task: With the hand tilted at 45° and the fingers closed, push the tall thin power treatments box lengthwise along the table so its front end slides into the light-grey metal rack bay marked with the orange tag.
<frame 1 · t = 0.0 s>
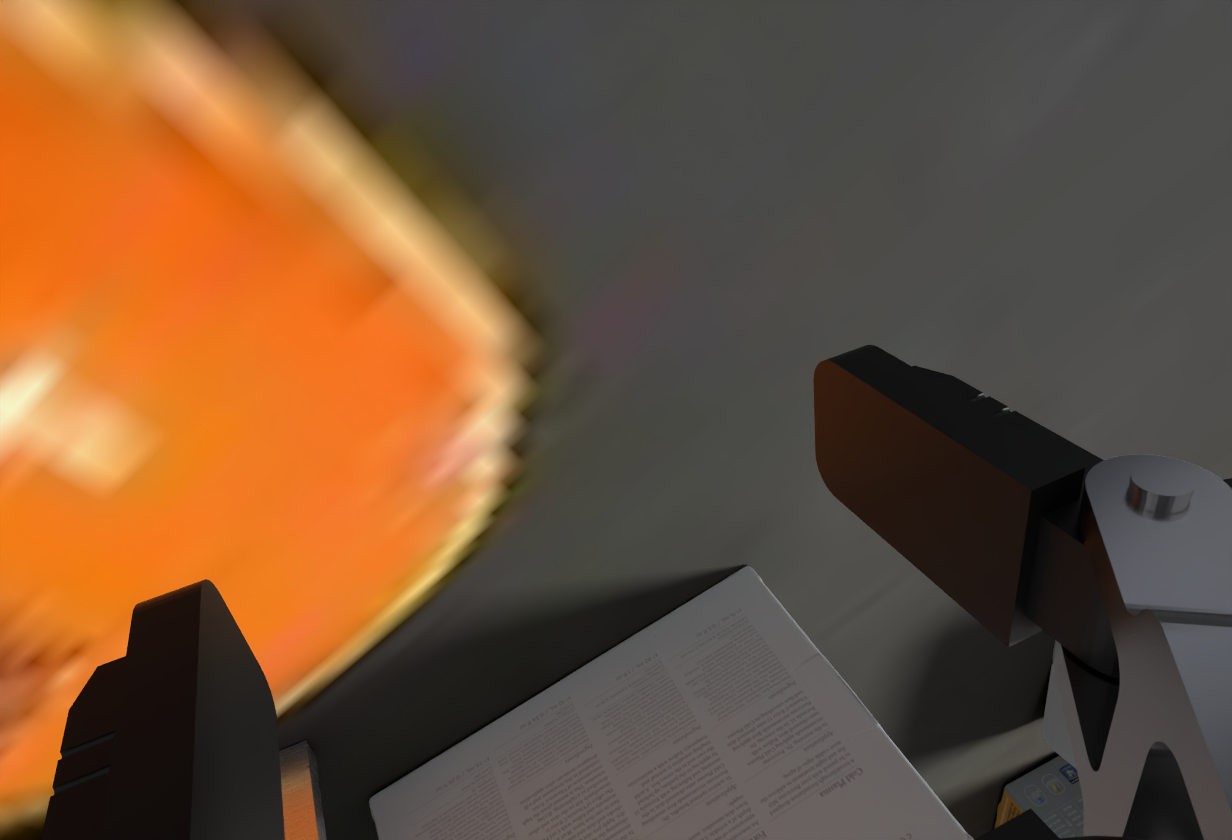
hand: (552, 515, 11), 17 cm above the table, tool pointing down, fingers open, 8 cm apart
skincare box: (582, 699, 41), on the table
hard drive box: (1022, 808, 73), on the table
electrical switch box: (1129, 626, 63), on the table
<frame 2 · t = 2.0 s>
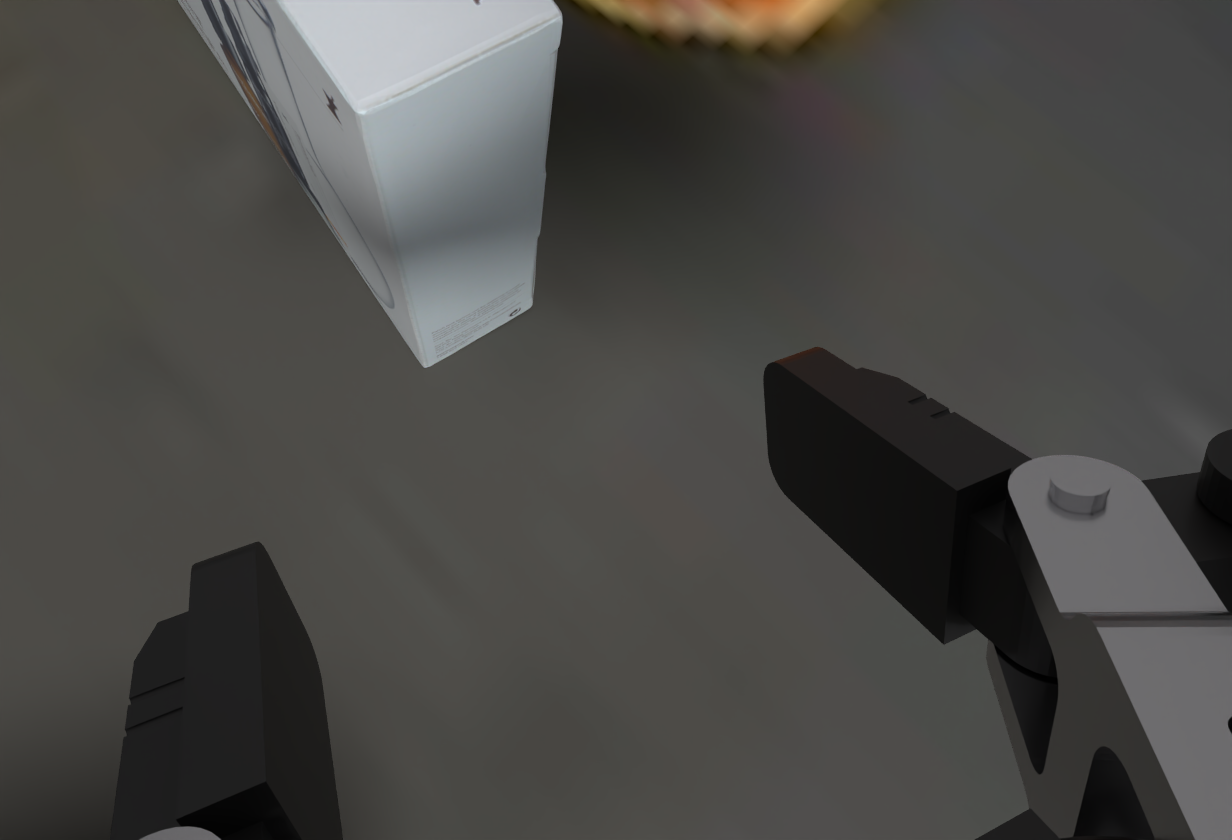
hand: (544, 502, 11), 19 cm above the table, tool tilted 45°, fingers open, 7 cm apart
skincare box: (331, 135, 33), on the table
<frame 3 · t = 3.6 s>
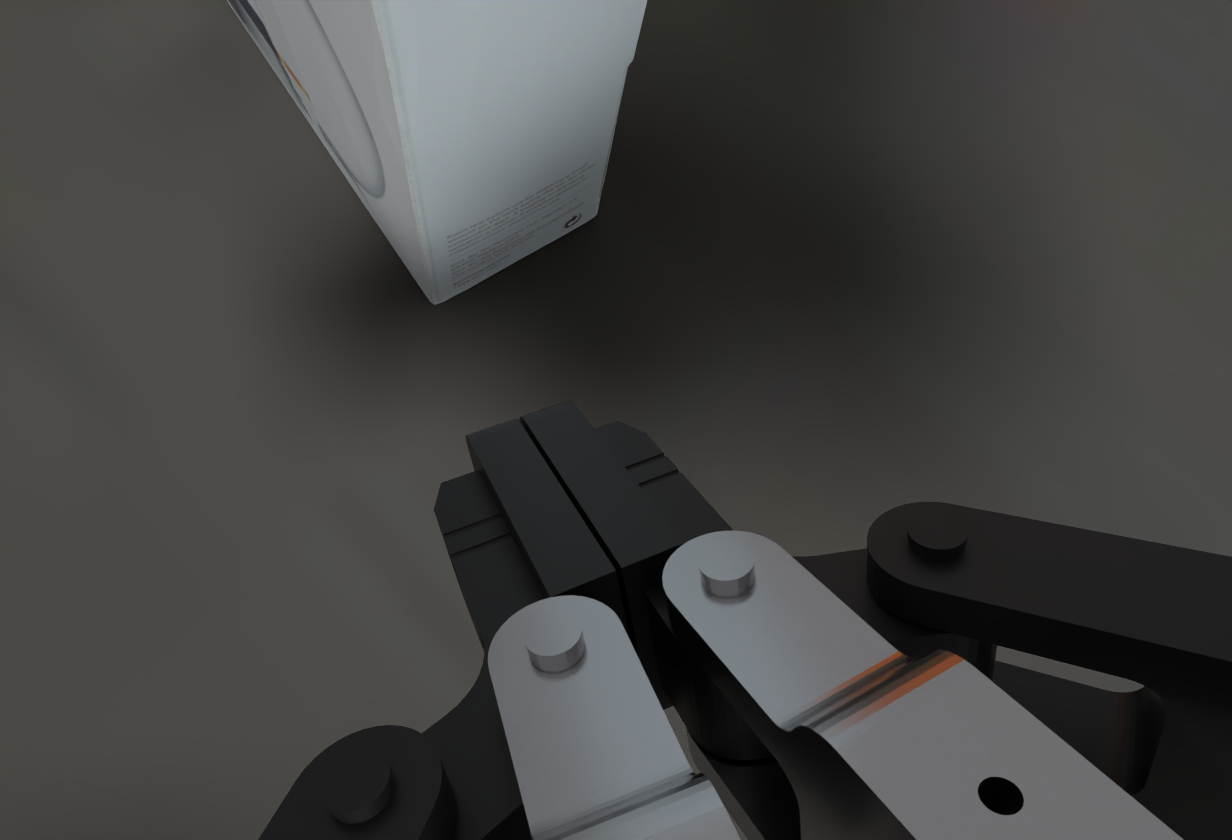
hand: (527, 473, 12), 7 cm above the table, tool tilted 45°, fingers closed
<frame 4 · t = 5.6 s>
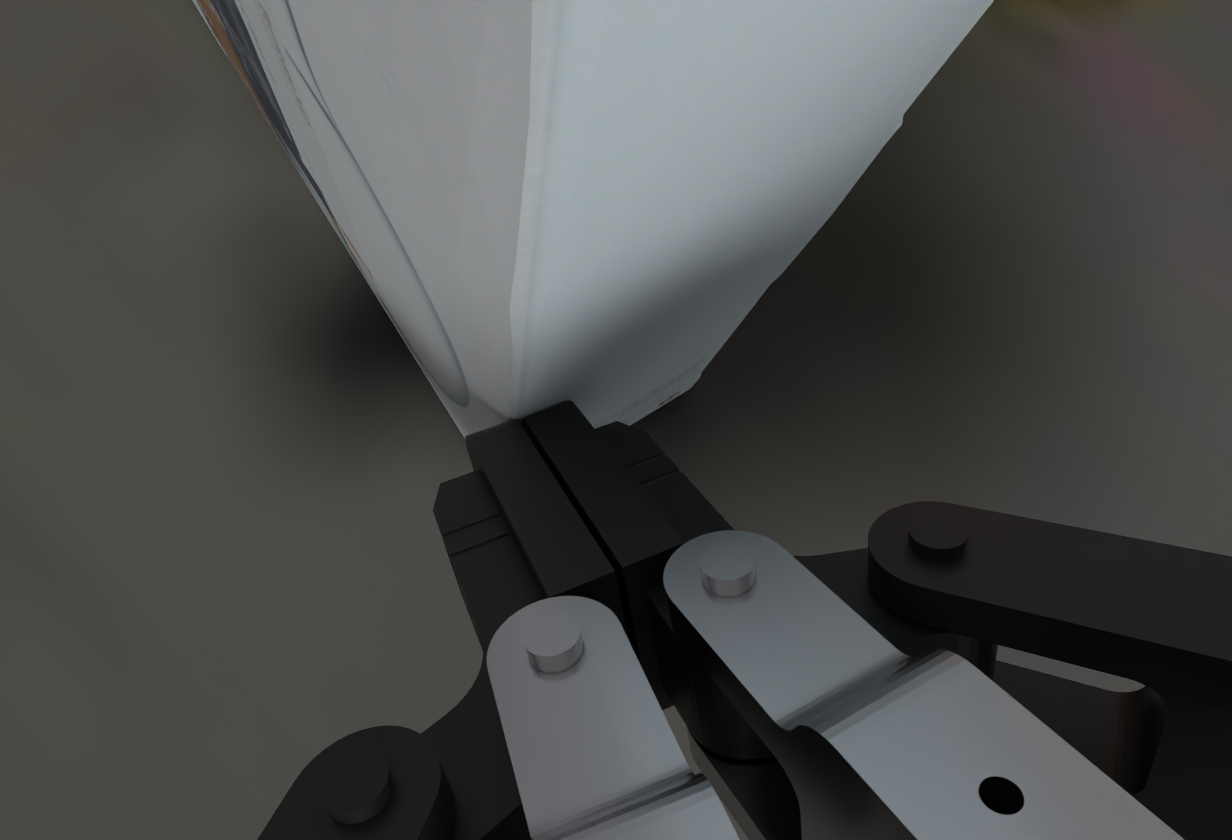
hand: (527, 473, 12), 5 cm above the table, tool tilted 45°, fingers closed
skincare box: (347, 77, 19), on the table, touching gripper
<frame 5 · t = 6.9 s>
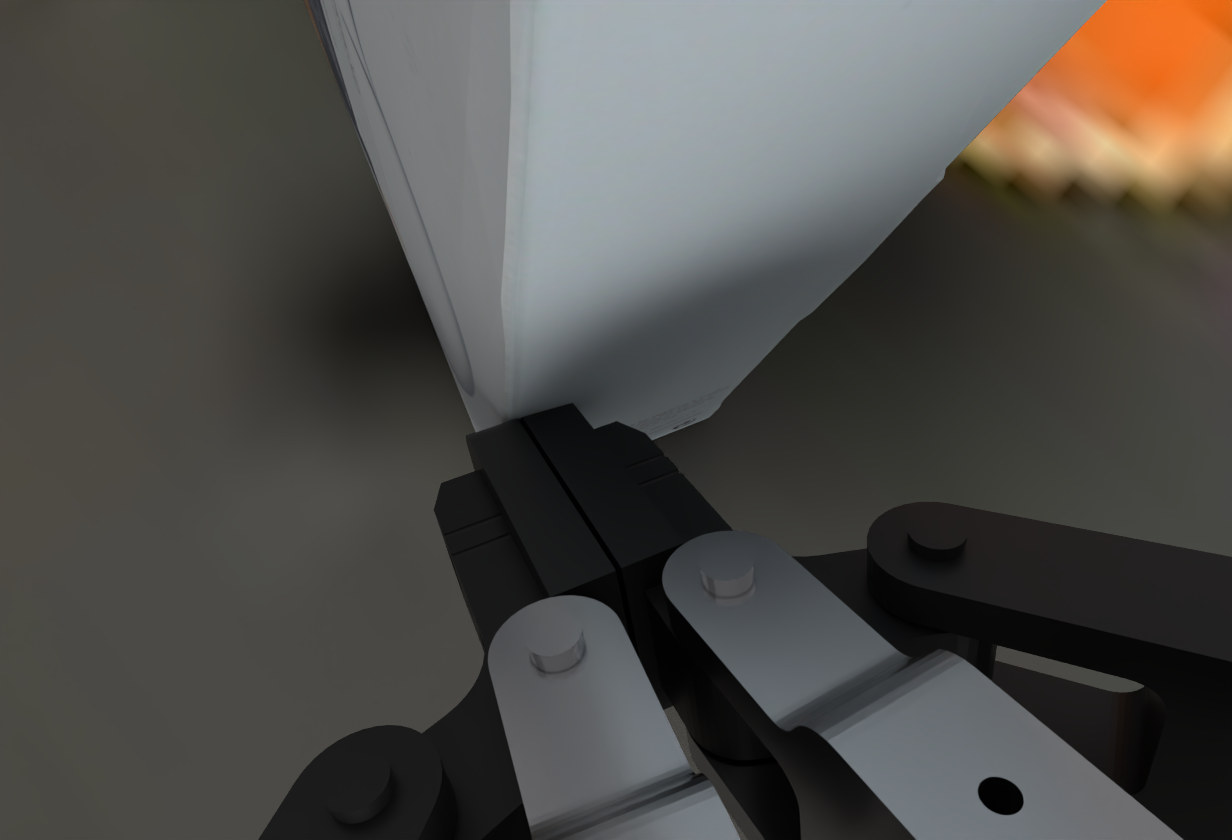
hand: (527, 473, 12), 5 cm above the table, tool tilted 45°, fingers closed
skincare box: (426, 58, 19), on the table, touching gripper
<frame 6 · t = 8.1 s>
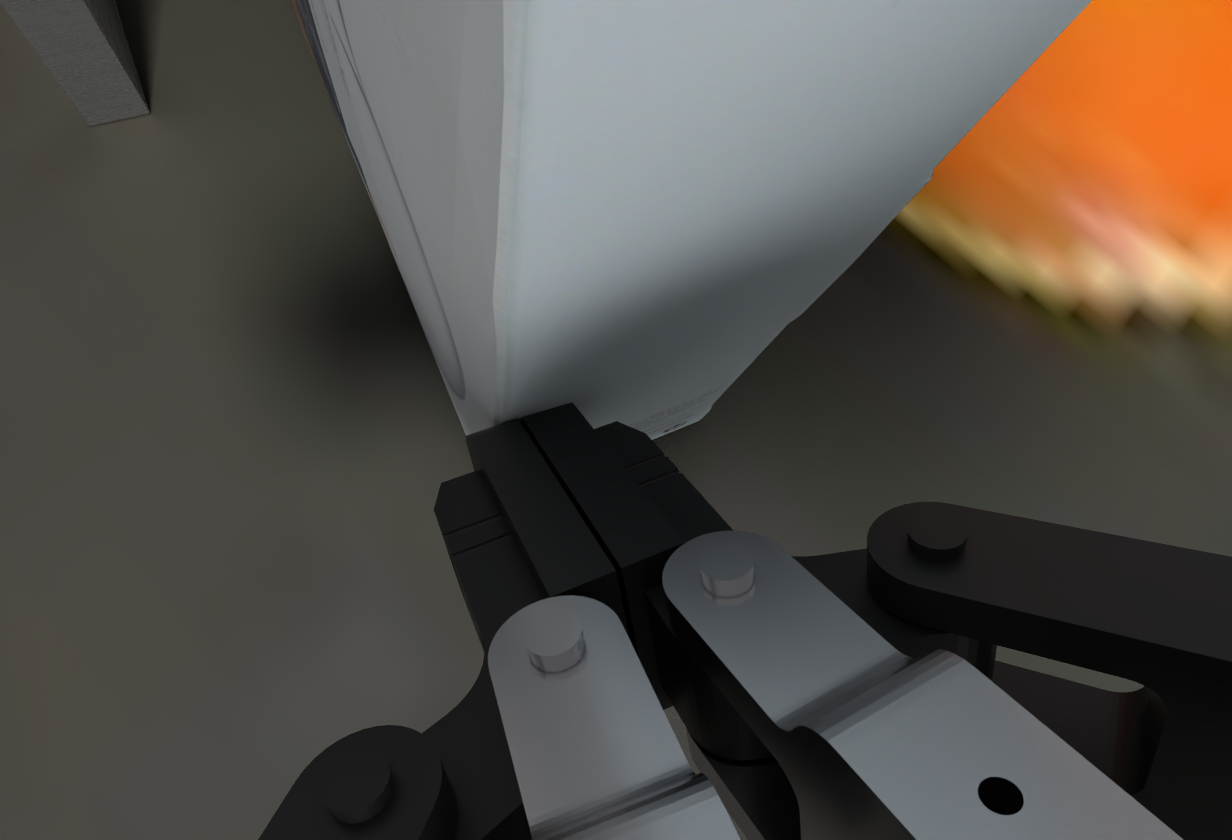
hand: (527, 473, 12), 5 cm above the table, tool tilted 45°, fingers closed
skincare box: (415, 63, 19), on the table, touching gripper
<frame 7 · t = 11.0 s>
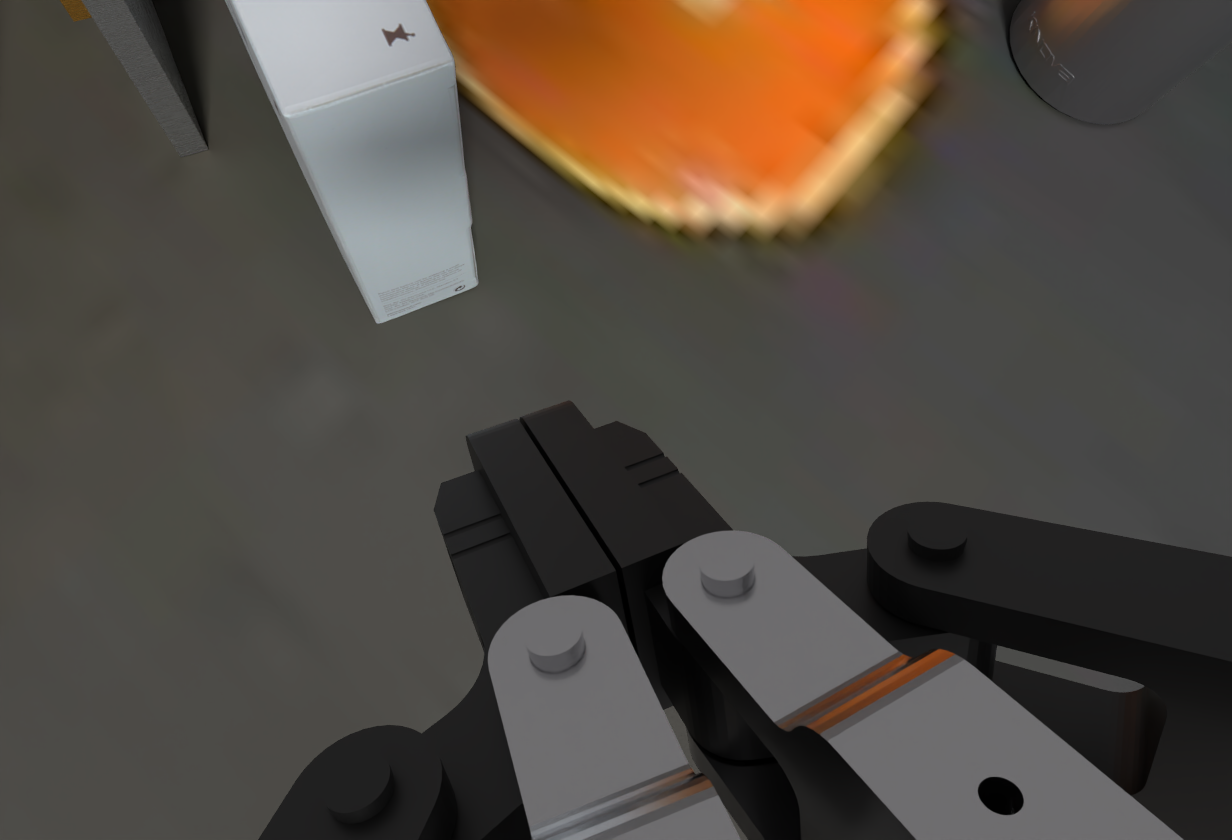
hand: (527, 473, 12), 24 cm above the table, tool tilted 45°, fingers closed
skincare box: (336, 118, 39), on the table
rack bay: (259, 17, 39), on the table
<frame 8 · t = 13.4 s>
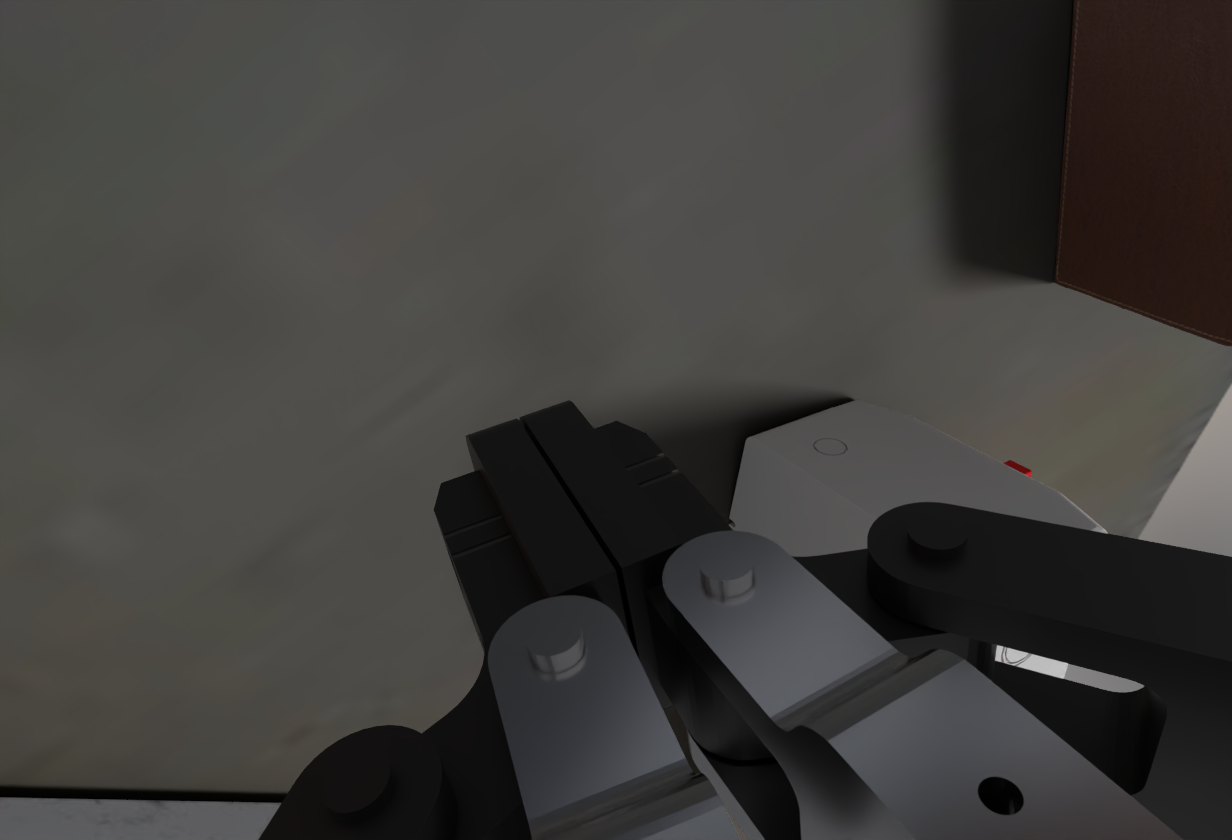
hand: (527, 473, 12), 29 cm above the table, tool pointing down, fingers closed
letter holder: (1118, 115, 52), on the table
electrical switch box: (830, 490, 57), on the table
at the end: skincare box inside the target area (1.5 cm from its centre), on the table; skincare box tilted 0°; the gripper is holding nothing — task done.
